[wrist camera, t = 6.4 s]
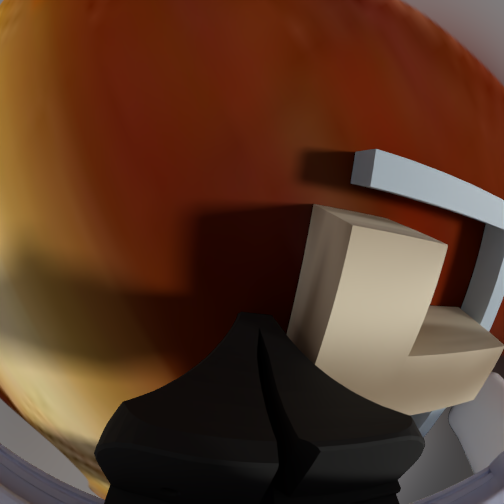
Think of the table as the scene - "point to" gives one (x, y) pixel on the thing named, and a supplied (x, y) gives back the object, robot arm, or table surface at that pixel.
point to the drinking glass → (481, 423)
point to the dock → (456, 200)
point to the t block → (385, 315)
